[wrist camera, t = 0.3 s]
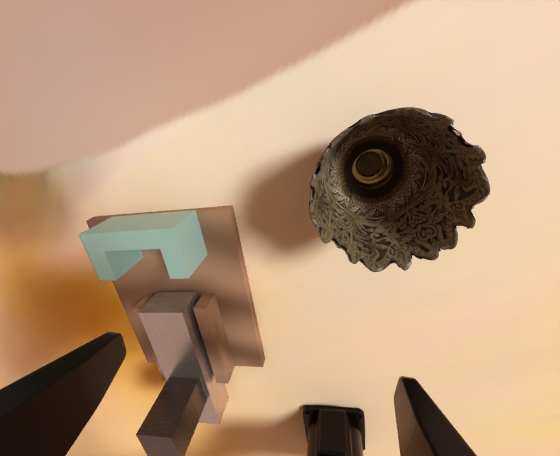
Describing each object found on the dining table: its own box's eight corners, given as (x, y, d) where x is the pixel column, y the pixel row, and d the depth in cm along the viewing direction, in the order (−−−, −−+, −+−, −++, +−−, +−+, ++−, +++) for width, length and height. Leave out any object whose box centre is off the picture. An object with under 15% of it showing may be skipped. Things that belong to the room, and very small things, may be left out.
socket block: (207, 254, 23) (188, 278, 20) (128, 258, 25) (99, 280, 22) (195, 210, 22) (173, 228, 19) (112, 216, 23) (78, 234, 20)
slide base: (264, 358, 29) (258, 385, 26) (153, 354, 31) (136, 378, 29) (232, 205, 22) (219, 219, 20) (94, 216, 25) (66, 230, 22)
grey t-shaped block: (228, 397, 30) (199, 486, 23) (195, 395, 31) (156, 481, 24) (196, 291, 25) (144, 366, 18) (156, 292, 26) (91, 363, 19)
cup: (293, 166, 20) (275, 202, 13) (372, 79, 17) (405, 62, 10) (365, 232, 21) (384, 298, 14) (450, 161, 18) (529, 198, 11)
